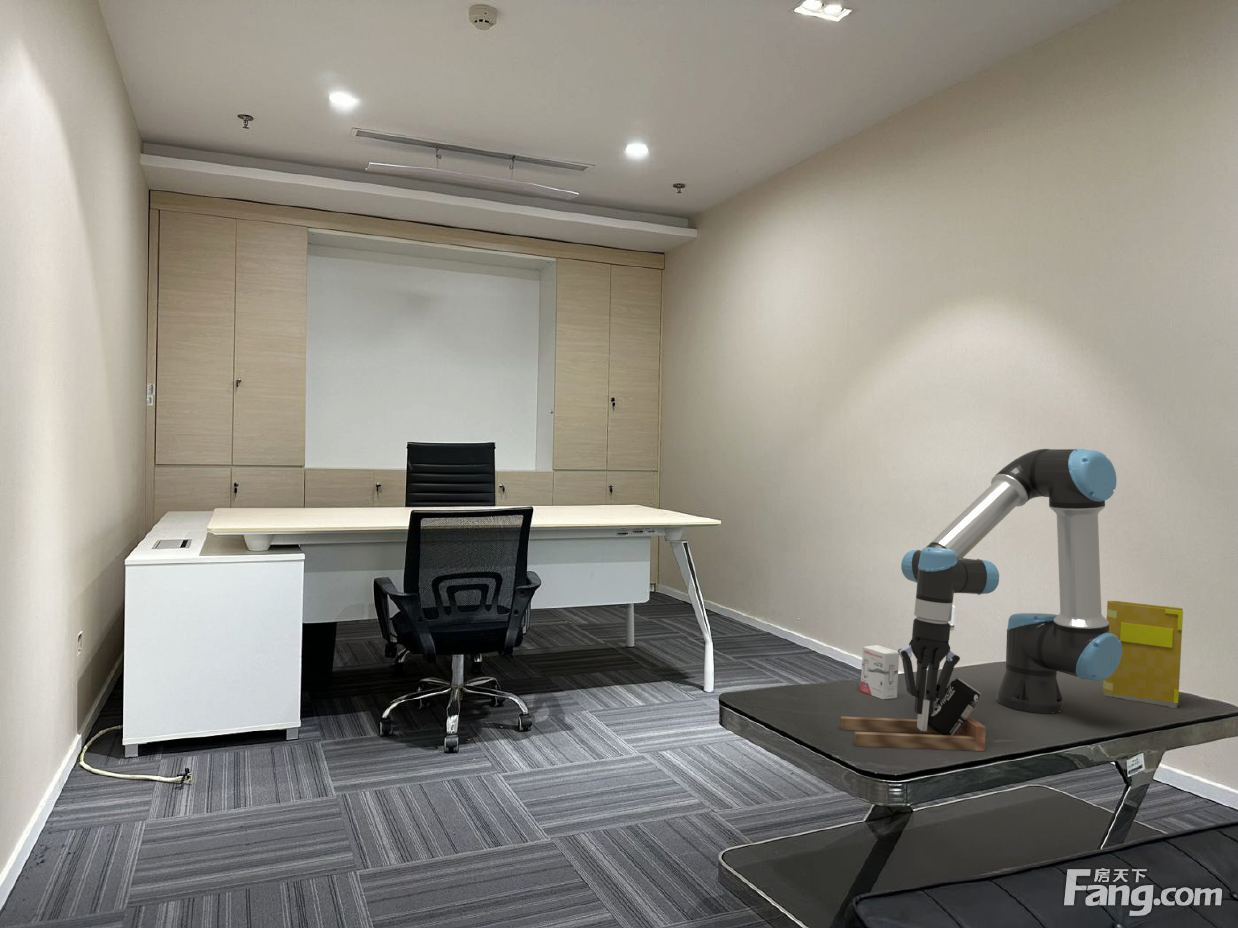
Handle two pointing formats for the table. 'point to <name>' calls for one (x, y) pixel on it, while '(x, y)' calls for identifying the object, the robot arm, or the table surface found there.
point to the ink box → (879, 672)
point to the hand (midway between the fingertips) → (921, 728)
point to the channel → (965, 739)
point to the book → (1146, 650)
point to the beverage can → (953, 708)
